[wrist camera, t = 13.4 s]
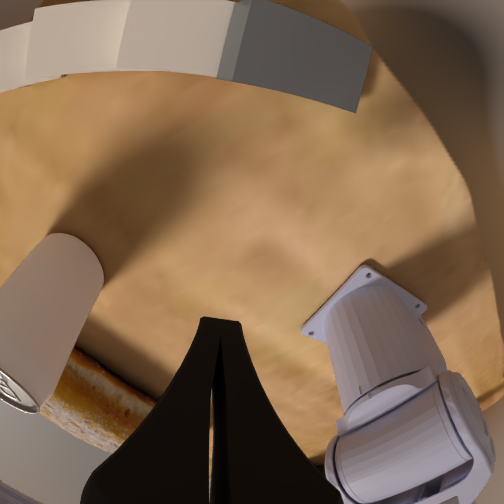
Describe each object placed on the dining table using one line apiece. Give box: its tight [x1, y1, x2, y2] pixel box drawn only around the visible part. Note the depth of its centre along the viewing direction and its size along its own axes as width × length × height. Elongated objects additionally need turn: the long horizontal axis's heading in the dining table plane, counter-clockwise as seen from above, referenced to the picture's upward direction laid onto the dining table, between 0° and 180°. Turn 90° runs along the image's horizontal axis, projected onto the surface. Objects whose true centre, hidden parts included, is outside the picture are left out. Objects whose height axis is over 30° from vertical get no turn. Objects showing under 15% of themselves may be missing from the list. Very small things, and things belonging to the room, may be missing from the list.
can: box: [0, 233, 104, 414], centre depth 15 cm, size 6×6×12 cm
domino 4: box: [216, 0, 373, 113], centre depth 12 cm, size 2×4×7 cm
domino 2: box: [25, 0, 154, 80], centre depth 10 cm, size 2×4×7 cm
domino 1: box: [0, 21, 64, 93], centre depth 10 cm, size 2×4×7 cm
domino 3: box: [116, 0, 236, 77], centre depth 11 cm, size 2×4×7 cm
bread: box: [39, 346, 157, 453], centre depth 28 cm, size 13×26×8 cm, turn 37°
